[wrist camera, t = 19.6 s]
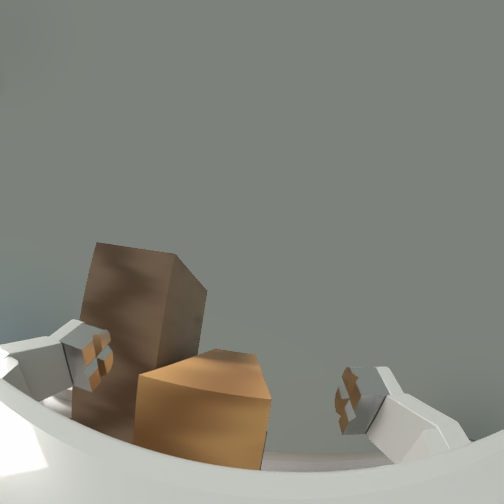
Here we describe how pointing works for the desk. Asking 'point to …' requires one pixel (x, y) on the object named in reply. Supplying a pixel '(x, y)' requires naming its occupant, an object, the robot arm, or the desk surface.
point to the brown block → (205, 410)
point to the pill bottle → (61, 403)
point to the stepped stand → (136, 328)
